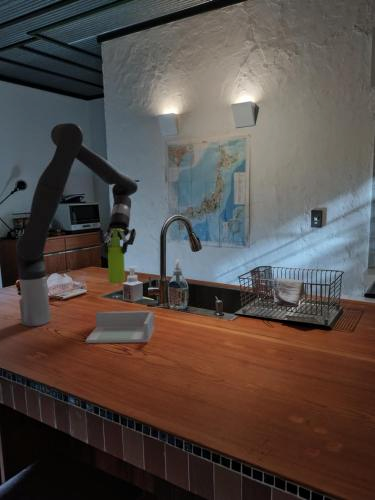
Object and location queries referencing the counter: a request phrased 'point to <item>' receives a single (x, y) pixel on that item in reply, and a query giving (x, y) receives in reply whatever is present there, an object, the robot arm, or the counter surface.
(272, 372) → the counter surface
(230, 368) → the counter surface
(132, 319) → the grey corner tray
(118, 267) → the soap dispenser
